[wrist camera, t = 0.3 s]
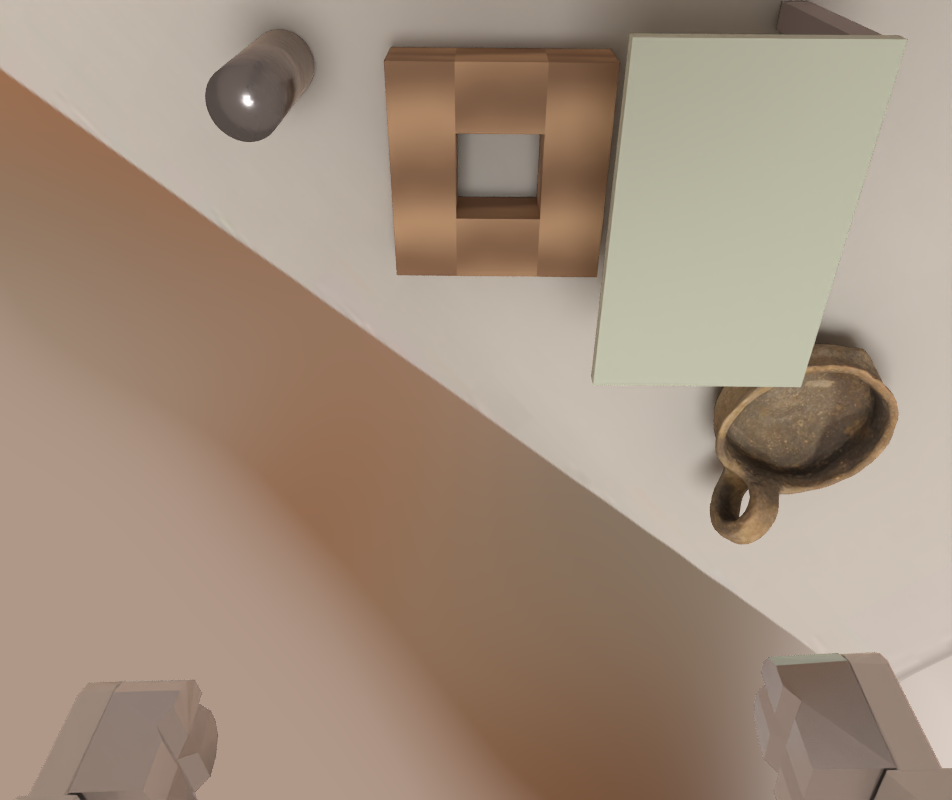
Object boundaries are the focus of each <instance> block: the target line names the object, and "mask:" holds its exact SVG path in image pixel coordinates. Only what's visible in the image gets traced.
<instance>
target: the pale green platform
mask: <svg viewBox="0 0 952 800" xmlns="http://www.w3.org/2000/svg"><path fill="white" fill-rule="evenodd" d="M776 30H778V31H779V32H781V33H783V34H655V33H630V35H629V43H628V52H627V61H626V70H625V79H624V88H623V97H622V106H621V115H620V124H619V133H618V142H617V151H616V160H615V168H614V177H613V186H612V195H611V204H610V213H609V222H608V231H607V240H606V249H605V258H604V267H603V276H602V284H601V293H600V302H599V311H598V320H597V329H596V338H595V347H594V356H593V365H592V374H591V377H592V382H593V385H639V386H734V387H801V385H802V382H803V379H804V375H805V372H806V369H807V366H808V362H809V359H810V356H811V353H812V349H813V346H814V343H815V340H816V336H817V333H818V330H819V327H820V323H821V320H822V317H823V314H824V310H825V307H826V304H827V301H828V297H829V294H830V291H831V288H832V284H833V281H834V278H835V275H836V271H837V268H838V265H839V262H840V258H841V255H842V252H843V249H844V245H845V242H846V239H847V236H848V232H849V229H850V226H851V223H852V219H853V216H854V213H855V210H856V206H857V203H858V200H859V197H860V193H861V190H862V187H863V184H864V180H865V177H866V174H867V171H868V167H869V164H870V161H871V158H872V154H873V151H874V148H875V145H876V141H877V138H878V135H879V132H880V128H881V125H882V122H883V119H884V115H885V112H886V109H887V106H888V102H889V99H890V96H891V93H892V89H893V86H894V83H895V80H896V76H897V73H898V70H899V67H900V63H901V60H902V57H903V54H904V50H905V47H906V44H907V41H908V39H906V38H903V37H901V36H899V35H881V34H879V33H877V32H875V31H873V30H870V29H868V28H866V27H864V26H862V25H859V24H857V23H855V22H853V21H851V20H849V19H846V18H844V17H842V16H840V15H838V14H835V13H833V12H831V11H829V10H827V9H824V8H822V7H820V6H818V5H816V4H813V3H811V2H809V1H782V4H781V9H780V13H779V18H778V23H777V27H776Z"/></svg>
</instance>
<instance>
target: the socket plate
mask: <svg viewBox="0 0 952 800" xmlns="http://www.w3.org/2000/svg"><path fill="white" fill-rule="evenodd" d="M619 65H620V63H619V61H618V59H617V58H616V56H615V55H614V53H613V52H612V50H611V49H553V48H426V47H391V48H390V50H389V52H388V54H387V56H386V58H385V60H384V71H385V88H386V104H387V121H388V137H389V154H390V170H391V187H392V203H393V219H394V236H395V252H396V269H397V275H437V276H540V277H597V270H598V261H599V251H600V242H601V233H602V223H603V214H604V205H605V196H606V186H607V177H608V168H609V158H610V149H611V140H612V130H613V121H614V112H615V102H616V93H617V84H618V74H619ZM457 134H540V146H539V165H538V184H537V198H534V197H458V141H457Z"/></svg>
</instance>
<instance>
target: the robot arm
mask: <svg viewBox="0 0 952 800" xmlns="http://www.w3.org/2000/svg"><path fill="white" fill-rule="evenodd" d="M761 674H762V676H763V680H764V683H765V685H764V686H763V687H762V688H760V689H759V690H758V691H757V693H756V698H755V704H754V711H755V727H756V731H757V737H758V741H759V745H760V748H761V752H762V755H763V758H764V760H765V761H766V762H767V763H768V764H769V765H770V766H771V767H772V768H774V770H775V771H777V772H778V777H777V781H776V784H775V788H774V795H775V798H776V800H952V768H942V767H941V765H940V763H939V761H938V760H937V758H936V755H935V753H934V752H933V750H932V748H931V746H930V744H929V742H928V740H927V738H926V736H925V734H924V732H923V730H922V728H921V726H920V724H919V722H918V720H917V718H916V716H915V714H914V712H913V710H912V708H911V706H910V704H909V702H908V700H907V698H906V696H905V694H904V692H903V690H902V688H901V687H900V684H899V682H898V680H897V678H896V676H895V674H894V672H893V670H892V668H891V666H890V664H889V662H888V661H887V660H886V659H885V658H884V657H883V656H882V655H881V654H880V653H875V652H871V653H853V654H838V653H832V654H814V655H796V656H779V657H768V658H767V659H766V660H765V661H764V663H763V667H762V670H761ZM201 695H202V692H201V690H200V688H199V686H198V685H197V683H196V681H195V680H171V681H137V682H126V681H120V682H97V683H88V684H87V685H86V686H85V688H83V690H82V691H81V692H80V693H79V694H78V695H77V698H76V699H75V702H74V704H73V706H72V708H71V710H70V712H69V714H68V716H67V718H66V720H65V722H64V724H63V726H62V728H61V730H60V732H59V734H58V736H57V738H56V740H55V742H54V745H53V746H52V748H51V750H50V753H49V755H48V757H47V759H46V761H45V763H44V765H43V767H42V769H41V771H40V773H39V775H38V777H37V779H36V781H35V783H34V785H33V787H32V789H31V791H30V793H29V795H28V796H18V797H17V798H16V799H15V800H198V799H197V796H196V793H195V792H196V791H197V790H198V789H199V788H200V787H201V786H202V785H203V784H204V782H206V781H207V780H208V778H209V777H210V776H211V772H212V769H213V765H214V761H215V758H216V750H217V740H218V733H217V726H216V721H215V718H214V716H213V714H212V712H211V711H210V710H209V709H207V708H205V707H204V706H202V705H200V704H199V701H200V698H201Z"/></svg>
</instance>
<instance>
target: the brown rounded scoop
mask: <svg viewBox="0 0 952 800" xmlns="http://www.w3.org/2000/svg"><path fill="white" fill-rule="evenodd" d="M897 420H898V407H897V402H896V400H895V398H894V396H893V394H892V393H891V391H890V390H889V389H888V388H887V387H886V386H885V385H884V384H883V382H882V380H881V378H880V376H879V374H878V372H877V370H876V368H875V367H874V365H873V362H872V360H871V358H870V357H869V355H868V354H867V353H866V352H865V351H864V350H863V349H860V348H851V347H844V346H839V345H832V344H814V346H813V349H812V353H811V356H810V359H809V362H808V366H807V369H806V372H805V375H804V379H803V382H802V385H801V387H734V386H724V388H723V389H722V391H721V393H720V395H719V397H718V400H717V402H716V405H715V410H714V432H715V436H716V453H717V456H718V459H719V460H720V461H721V462H722V464H723V466H724V469H723V473H722V475H721V476H720V478H719V481H718V483H717V485H716V487H715V489H714V492H713V495H712V500H711V503H710V517H711V522H712V525H713V527H714V529H715V530H716V531H717V532H718V533H719V534H720V535H721V536H723V537H724V538H726V539H728V540H730V541H732V542H734V543H737V544H749V543H752V542H754V541H756V540H758V539H759V538H761V537H762V536H763V535H764V534H765V533H766V532H767V531H768V530H769V528H770V527H771V526H772V524H773V523H774V521H775V519H776V516H777V514H778V508H779V494H794V493H800V492H805V491H810V490H815V489H820V488H823V487H827V486H830V485H832V484H835V483H837V482H839V481H841V480H844V479H846V478H849V477H851V476H853V475H855V474H856V473H858V472H860V471H861V470H862V469H863V468H865V467H866V466H867V465H869V464H870V463H872V462H873V461H874V460H875V459H876V458H877V457H878V456H879V455H880V454H881V452H882V451H883V450H884V449H885V448H886V446H887V445H888V444H889V442H890V440H891V437H892V435H893V432H894V429H895V426H896V423H897ZM748 489H749V494H750V500H749V504H748V506H747V508H746V511H745V512H744V513H743V515H742V516H741V517H739V513H740V506H741V501H742V498H743V496H744V494H745V492H746V491H747V490H748Z"/></svg>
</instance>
